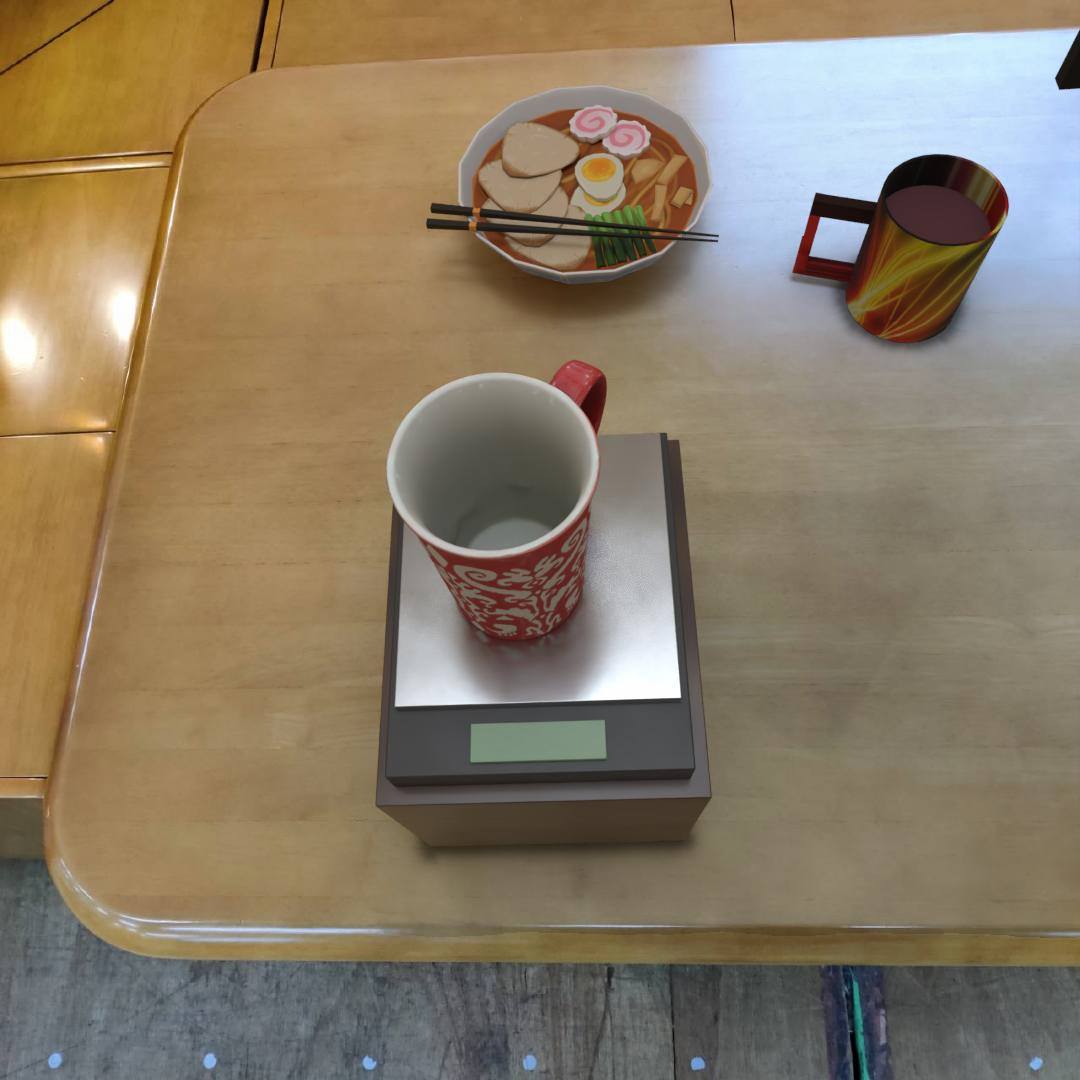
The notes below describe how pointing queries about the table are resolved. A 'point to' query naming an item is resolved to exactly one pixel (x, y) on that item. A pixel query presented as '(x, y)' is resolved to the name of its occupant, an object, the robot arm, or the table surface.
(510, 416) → the mug
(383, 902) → the table surface
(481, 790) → the riser
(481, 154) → the ramen bowl
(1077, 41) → the robot arm
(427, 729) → the kitchen scale
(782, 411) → the table surface
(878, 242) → the mug
